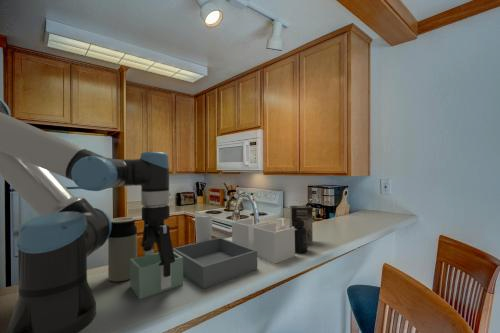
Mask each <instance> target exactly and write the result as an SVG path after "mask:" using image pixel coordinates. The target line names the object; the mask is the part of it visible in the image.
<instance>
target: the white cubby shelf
mask: <svg viewBox="0 0 500 333" xmlns="http://www.w3.org/2000/svg"><path fill="white" fill-rule="evenodd" d="M276 225H277V224H276V222H271V223H269V221H264V222H259V223H254V218H253V217H249V218H244V219H238V220H234V221H231V241H232V242H234V243H237V244H240V245H243V246H245V247H248V248H251V249H254V250H256V251H257V258H260V259H262V260H265V261H268V262H269V263H272V264H277V263H281V262H283V261H285V260H288V259H290V258H293V257H295V256H296V253H295V228H294V227H292V228H290V227H289V228H285V229H281V230H277V231H276Z"/></svg>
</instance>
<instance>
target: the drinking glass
mask: <svg viewBox="0 0 500 333" xmlns="http://www.w3.org/2000/svg"><path fill="white" fill-rule="evenodd" d="M194 227H195V237H196V239H195V240H196V243H198V242H203V241H207V240H211V239H212V236H213V235H212V234H213V215H212V213H197V214H195V216H194Z"/></svg>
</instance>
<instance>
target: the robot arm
mask: <svg viewBox="0 0 500 333" xmlns="http://www.w3.org/2000/svg"><path fill="white" fill-rule="evenodd" d="M169 165H170V164H169V156H168V154H167V153H166V152H163V151H144V152H143V151H142V152H141V153H140V158H137V159H136V158H135V159H125V158H124V159H121V158H120V159H119V158H117V159H116V158H110V157H105V156H103V155H100V154H98V153H96V152H94V151H91V150H89V149H87V148H84V147H82V146H79V145H78V144H76V143H72V142H70V141H68V140H66V139H64V138H61V137H59V136H57V135H54V134H52V133H50V132H48V131H45V130H42V129H41V128H38V127H37V126H33V125H32V124H29V123H26V122H24V121H23V120H19V119H17V118H15V117H12V113H11V110H10V108H9V106H8V105H7V103H6V102H5V101H4V100H3V99H2V98H0V176H1V177H2V179H4V180H5V181H6V182H7V183H8V184H9V185H10V187H12V189H13V190H14V191H15V192H16V193H17V194H18V195H19V196H20V197H21V198H22V199H23V200H24V201H25V202H26V203H27V204H28V205H29V206H30V207H31V209H32V210H34V211H35V212H36V213H37V215H39V216H35V217H33V218H31V219H29V220H27V221H25V222H24V223H23V224H21V226H20V227H19V230H18V237H17V240H16V241H17V242H16V247H17V261H18V262H17V263H18V264H17V265H18V274H17V275H18V298H17V301H16V304H15V306H14V309H13V312H12V313H11V314H12V315H11V317H10V320H9V322H8V325H7V328H6V333H77V332H79V331H81V330H82V329H83V328H85V327H86V326H87V325H89V324H90V323H91V322H92V321H93V320H94V319H95V317H96V315H97V301H96V298H95V296H94V294H93V291H92V289H91V286H90V284H89V282H88V274H87V272H88V270H87V269H88V263H87V261H88V257H89V256H90V255H91V254H93V253H94V252H96V251H97V250H98V249H100V248H101V247H102V246H104V245H105V243H106V242H107V241H108V238H109V236H110V234H111V230H112V223H111V219H112V218H110V215H108V213H107V212H105V211H104V210H102V209H100V208H97V207H93V205H91V204H90V202H88V200H87V199H86V198H85V197H80V196H79V197H78V196H74V194H73V192H71V191H70V189H68V187H67V186H65V184H64V183H63V182H62V181H61V180H60V179H59V178H58V177H57V176H58V175H59V176H61V177H64V178H66V179H68V180H71V181H73V182H74V184H75V185H76V186H77V187H78V188H79V189H82V190H85V191H88V192H89V191H91V192H100V191H104V190H106V189H110V188H118V187H128V186H130V187H131V186H136V187H137V186H141V190H140V199H141V201H140V204H141V206H142V207H141V219H142V221H143V222H144V223H143V226H144V227H143V231H142V239H141V245H140V246H141V248H142V251H143V256H146V255H150V254H155V250H154V249H155V245H154V244H156V248H157V251H158V252H157V253H159V256H160V259H161V262H160V263H159V266H160V289H161V290H162V289H165V288H168V287H171V263H173V262H175V258H174V253H173V248H174V247H173V243H172V238H171V233H170V232H171V231H170V225H169V224H165V220H167V219H169V218H170V206H169V205H168V204H170V196H171V193H170V166H169ZM55 174H56V175H57V176H56V175H55ZM167 258H168V259H167Z"/></svg>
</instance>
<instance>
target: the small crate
mask: <svg viewBox="0 0 500 333" xmlns="http://www.w3.org/2000/svg"><path fill="white" fill-rule="evenodd" d="M173 253H174V258H175V262H173V263H171V287H168V288H165V289H162V290H161V289H160V266H159V263H160V262H161V259H160V256H159V252H154V254H150V255H146V256H144V255H142V256H137V258H133V259H130V279H129V284H130V285H129V287H130V288H131V290H132V291H133V293H135V295H136V296H137V297H138V299H140V300H141V299H144V298H147V297H149V296H154V295H155V294H159V293H162V292H165V291H167V290H170V289H174V288H177V287H179V286H183V285H184V274H183V257H182V256H180V255H178V254H177V253H175V252H174V251H173ZM167 259H168V258H167Z"/></svg>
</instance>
